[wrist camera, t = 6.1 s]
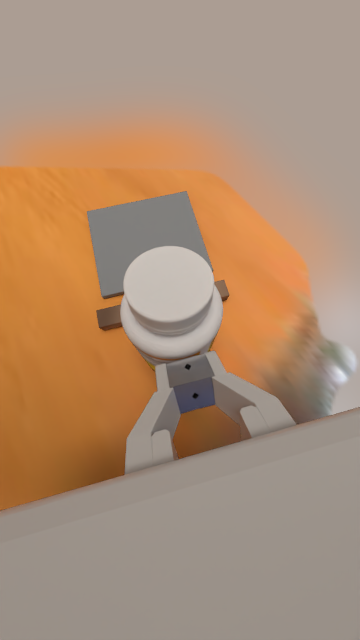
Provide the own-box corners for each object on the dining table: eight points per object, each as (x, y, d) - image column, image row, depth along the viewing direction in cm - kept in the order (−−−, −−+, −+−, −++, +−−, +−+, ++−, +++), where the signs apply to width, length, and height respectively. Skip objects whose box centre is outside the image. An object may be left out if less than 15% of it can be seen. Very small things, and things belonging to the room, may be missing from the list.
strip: (104, 330, 19) (99, 327, 17) (101, 314, 19) (96, 310, 18) (226, 299, 19) (229, 295, 18) (221, 285, 20) (223, 279, 19)
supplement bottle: (183, 309, 19) (184, 216, 10) (219, 355, 17) (263, 292, 8) (133, 341, 18) (81, 266, 9) (166, 394, 16) (146, 371, 7)
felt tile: (104, 298, 19) (101, 296, 19) (89, 215, 22) (86, 211, 21) (212, 273, 20) (213, 270, 20) (186, 195, 23) (186, 191, 22)
